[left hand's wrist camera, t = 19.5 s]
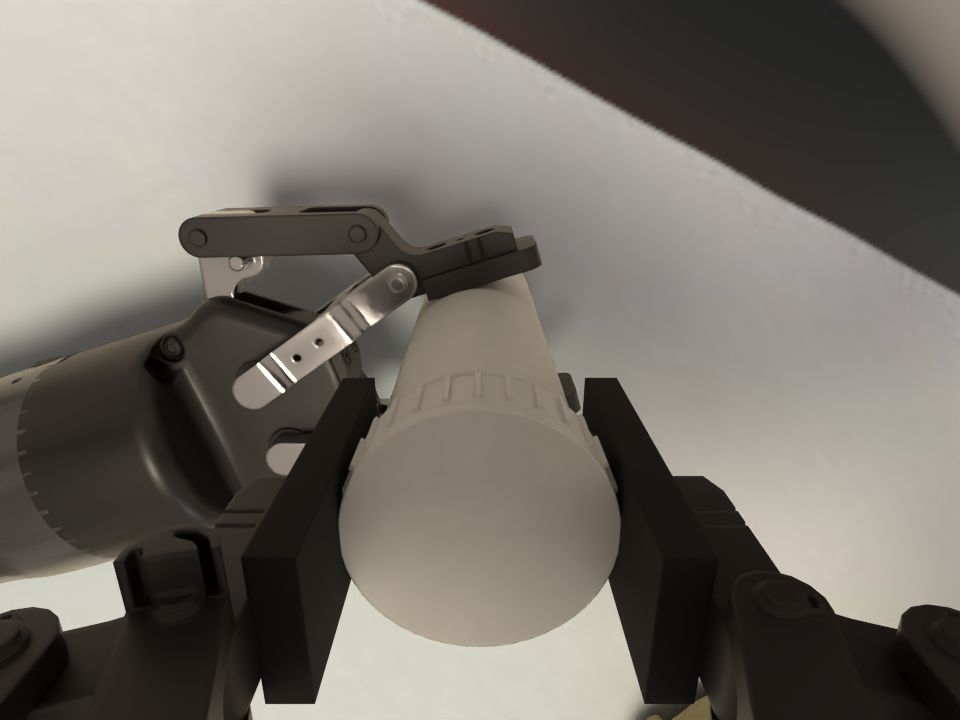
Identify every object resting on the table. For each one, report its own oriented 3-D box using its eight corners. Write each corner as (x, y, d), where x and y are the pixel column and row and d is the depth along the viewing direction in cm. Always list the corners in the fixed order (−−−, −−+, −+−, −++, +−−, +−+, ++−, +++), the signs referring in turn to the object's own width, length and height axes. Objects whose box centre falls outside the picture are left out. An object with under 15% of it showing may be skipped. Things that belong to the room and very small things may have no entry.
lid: (329, 565, 13) (310, 620, 11) (378, 341, 11) (363, 371, 10) (563, 614, 13) (573, 673, 12) (645, 406, 12) (669, 446, 10)
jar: (550, 290, 26) (642, 485, 11) (487, 366, 27) (497, 630, 13) (468, 226, 25) (454, 350, 10) (406, 308, 26) (316, 521, 12)
